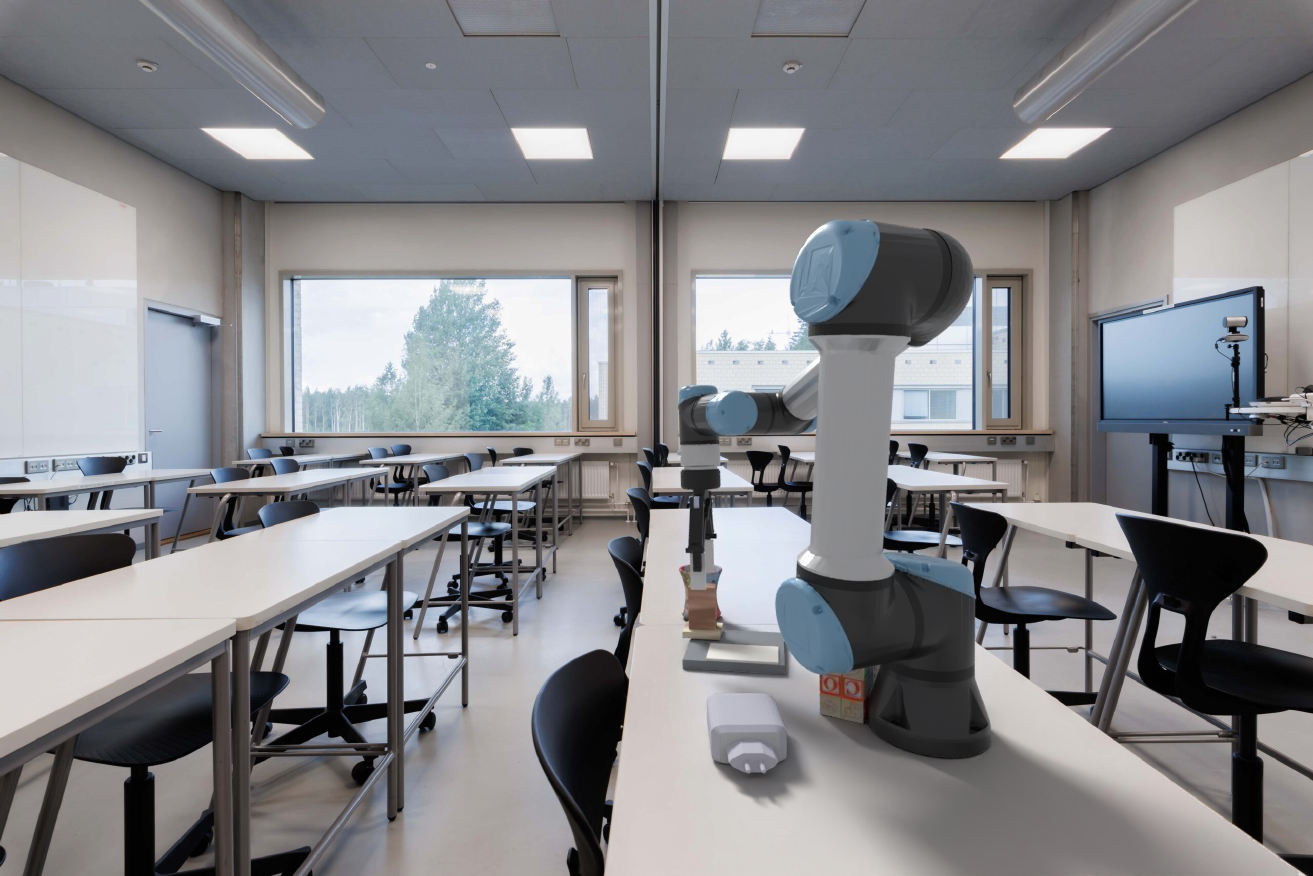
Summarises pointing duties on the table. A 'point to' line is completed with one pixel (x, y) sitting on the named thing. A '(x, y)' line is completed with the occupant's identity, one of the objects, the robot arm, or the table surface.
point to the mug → (710, 578)
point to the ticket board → (738, 652)
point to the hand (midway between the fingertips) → (703, 580)
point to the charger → (746, 731)
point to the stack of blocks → (847, 693)
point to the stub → (703, 614)
